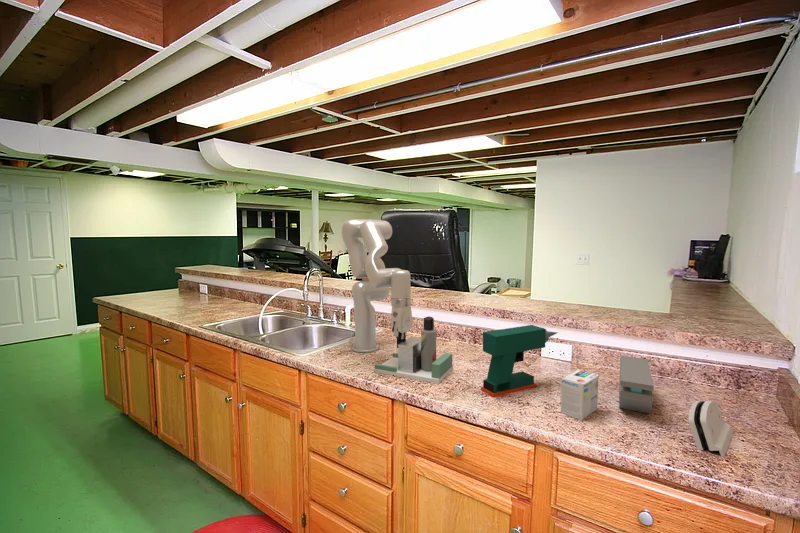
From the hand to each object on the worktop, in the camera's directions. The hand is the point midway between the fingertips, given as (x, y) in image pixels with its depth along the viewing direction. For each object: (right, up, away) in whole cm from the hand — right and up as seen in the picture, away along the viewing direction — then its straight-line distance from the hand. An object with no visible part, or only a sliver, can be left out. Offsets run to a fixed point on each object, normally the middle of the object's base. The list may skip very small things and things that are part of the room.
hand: (401, 348), depth 149 cm
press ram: (+5, -7, -2) cm, 8 cm away
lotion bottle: (+10, -7, -4) cm, 13 cm away
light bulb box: (+53, -11, -36) cm, 65 cm away
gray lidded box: (+72, -11, -31) cm, 79 cm away
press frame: (+5, -8, -2) cm, 10 cm away
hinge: (+79, -13, -51) cm, 95 cm away
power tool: (+43, -10, -16) cm, 46 cm away
